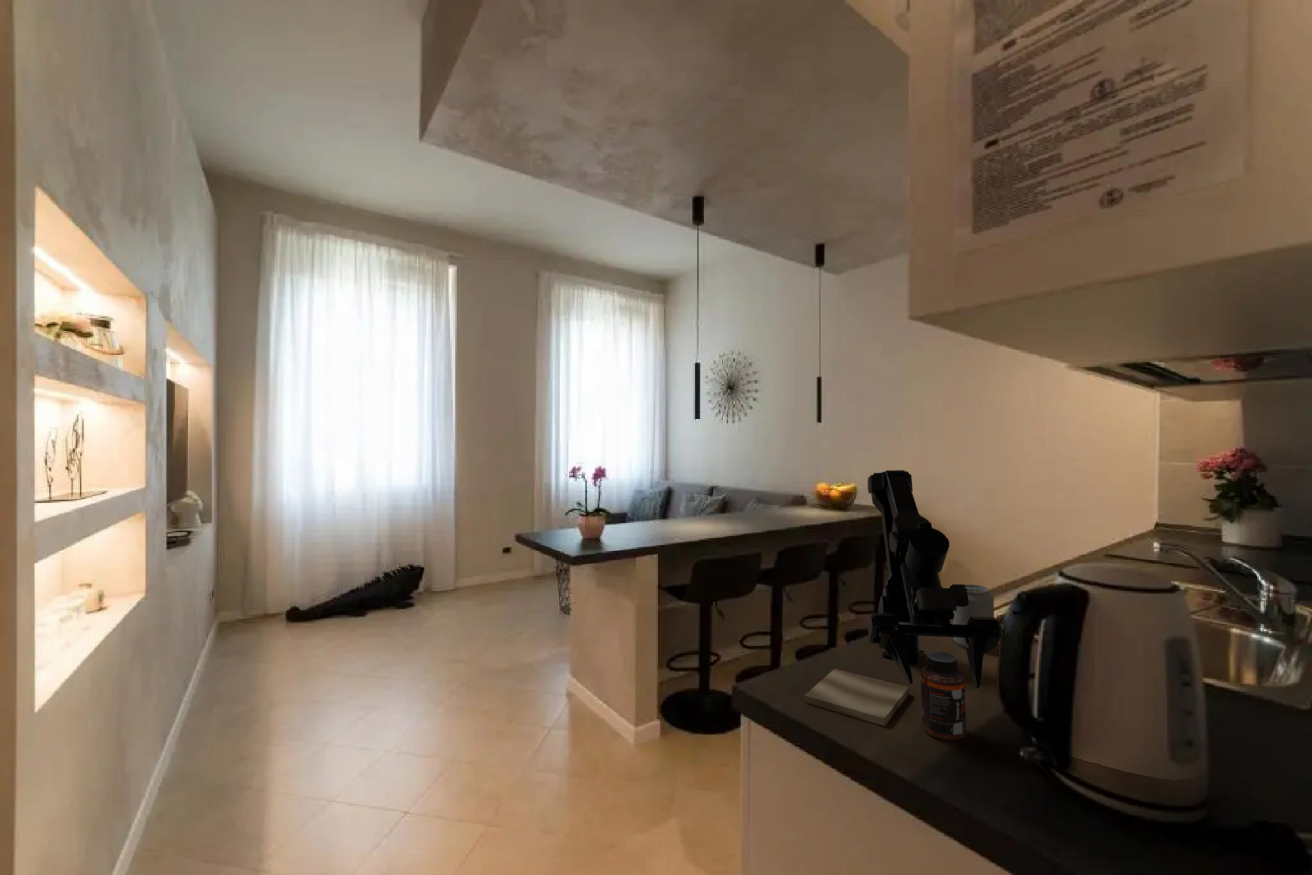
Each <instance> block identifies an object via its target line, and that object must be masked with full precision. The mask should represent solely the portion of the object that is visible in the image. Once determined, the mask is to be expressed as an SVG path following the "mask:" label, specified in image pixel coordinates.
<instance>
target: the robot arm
mask: <svg viewBox="0 0 1312 875" xmlns="http://www.w3.org/2000/svg"><path fill="white" fill-rule="evenodd" d="M912 476H913V475H912V474H911V473H909V471H906V470H903V469H901V470H900V469H898V470H897V469H893V470H892V469H891V470H890V469H887V470H885V471H881V472H873V474H871V475H869V476H868V477H867V490H868V491H867V493H868V494H870V495H871V502H872V504H873V506H874V507H875V508H876V509H877V511H879V513H880V515H881V521H882V532H883V537H884V538H883V539H884V545H885V547H884V548H885V554H886V555H885V556H886V565H887V571H888V572H887V574H888V579H887V581H886V583H885V585H884V587H883V589H882V592H881V593H882V595H881V596H880V597H879V603H878V609H877V612H873V613H872V614H871V615H870V616H869V620H868V627H867V628H868V629H867V630H868V632H867V633H868V640H869V643H871V644H872V645H873V644H874V645H875V644H876V645H878V648H879V649H881V650H883V652H882V653H881V655H882V657H883V658H889V659H892V660H893V661H894V662H895V664H896V665H897V667H898V668H899V670H900V672H901V673H902V675H903V676H904V679H905V680H906V681H907V684H909V685H912V684H913V682H914V681H913V675H912V670H911V665H910V663H911V664H918V662H919V661H920V660H921V659H922V657H924V655H925V652H926V651H925V650H922V649H920V642H919V641H920V640H919V637H921V636H922V637H938V638H939V637H941V638H943V637H944V638H953V637H959V638H965V640H966V644H968V645H969V646H968V648H966V655H967V660H968V665H969V670H970V673H971V678H972V681H973V684H974V687H975V688H976V689H980V687H981V683H982V674H983V671H982V670H983V660H984V656H985V654H988V653H989V651H990V650H993V649H996V648H997V646H998V644H999V642H1000V640H1001V639H1002V637H1001V631H1002V629H1003V627H1002V624H1001V622H1000V621H999V620H998V619H996V617H995V616H994V617H975V616H970V618H969V620H968V623H967V625H959V624H953V623H952V622H951V620H952V621H953V619H954V612H953V611H957V607H965V606H967V605H968V604H969V600H968V594H967V590H966V587H965V585H964V584H965V583H964V584H963V583H962V584H958V583H957V584H955V583H953V584H951V585H950V586H949V587H948V588H947V587H942V582H941V579H940V575H939V573H941V572H942V570H943V568H944V564H945V561H946V558H947V555H948V552H949V548H950V540H949V538H948V537H947V536H946V535H945V534H944V533H943V532H942V531H940V530H939V529H937V528H935V527H933V525H932V522H930V520H928V519H927V518H925V517H924V516H922V515H920V512H919V510H918V506H917V503H916V500H915V497H914V493H913V492H914V491H913V490H914V489H913V478H912Z"/></svg>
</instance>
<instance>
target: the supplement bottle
mask: <svg viewBox="0 0 1312 875" xmlns="http://www.w3.org/2000/svg"><path fill="white" fill-rule="evenodd" d="M926 656H927V657H926V658H927V659H926V664H927V665H926V666H924V667H922V669H921V670H920V704H921V705H920V707H921V708H920V710H921V726H922V728H923V730H924V731H925V732H926V733H927V734H928V735H930V736H931V737H934V738H937V739H940V740H945V741H959V740H962V739H963V738H965V736H966V734H967V713H966V711H967V709H966V708H967V707H966V680H965V679H966V678H965V676H964V674H963V673H962V672H961V671H960V670H959V668H958V659H957V657H956V656H955V655H953V654H951V653H947V652H940V651H933V652H932V651H931V652H928V654H927V655H926Z"/></svg>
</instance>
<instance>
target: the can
mask: <svg viewBox="0 0 1312 875" xmlns="http://www.w3.org/2000/svg"><path fill="white" fill-rule="evenodd" d="M964 585H965V587H966V590H967V594H968V600H969V604H968V605H967V606H965V607H957V611H953V612H954V619H953V620H952V624H959V625H967V623H968V620H969V618H970V616H975V617H994V618H995V608H994V607H995V605H994V604H995V601H994V596H993V595H992V594H991V593H990V591H991V590H990V589H989V588H988V587H986V586H984V585H983V586H982V585H977V584H971V583H964ZM952 638H953V640H954V642H956V643H957V644H958V645H959V646H960V647H962V648H965V649H967V648H968V646H969V645H968V644H966V640H965V638H959V637H952Z"/></svg>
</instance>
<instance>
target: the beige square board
mask: <svg viewBox="0 0 1312 875" xmlns="http://www.w3.org/2000/svg"><path fill="white" fill-rule="evenodd" d="M909 695H910V687H909V686H905V685H902V684H901V685H900V684H897V683H893V682H891V681H890V682H889V681H885V680H882V679H877V678H873V677H871V676H865V675H860V674H857V673H854V672H849V671H846V670H841V669H837V668H834V669H832V671H830V672H829V673H828V674H827V675H825V677H824V678H823V679H821V680H820V681H819V682H818V683H817V684H815V686H813V687H812V688H811V689H810V690H809V691H807V693H805V695H804V703H806V704H809V705H812V706H816V707H819V708H822V709H826V710H830V711H833V712H836V713H839V714H841V715H842V714H843V715H846V716H849V717H853V718H855V719H859V720H862V721H866V722H869V723H873V724H876V725H880V726H883V727H885V726H886V725H887V724H888V723H889V721H890V720H891V719H892V717H893V716H894V715H895V713H896V712H897V711H898V709H899V708H900V707H901V706H902V705H903V703H904V701H905V700H906V699H907V698H908V696H909Z"/></svg>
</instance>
